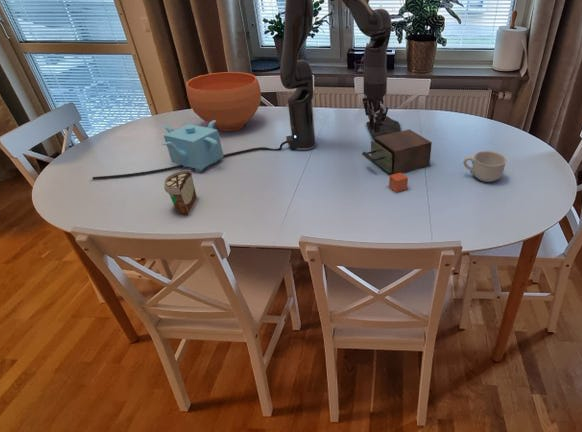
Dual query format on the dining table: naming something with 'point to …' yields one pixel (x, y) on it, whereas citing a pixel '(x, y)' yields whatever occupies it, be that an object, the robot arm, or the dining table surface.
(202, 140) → the teakettle
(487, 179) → the teacup
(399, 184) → the block
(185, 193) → the brown and cream wedge
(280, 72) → the robot arm
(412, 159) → the cabinet
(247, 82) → the bowl
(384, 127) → the dark slate chunk
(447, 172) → the dining table surface
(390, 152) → the drawer
